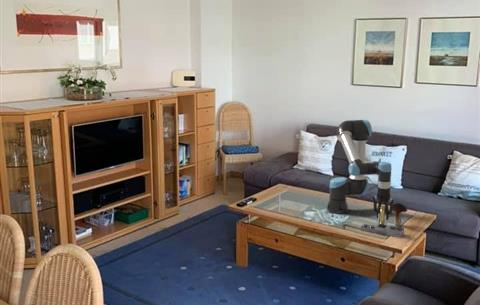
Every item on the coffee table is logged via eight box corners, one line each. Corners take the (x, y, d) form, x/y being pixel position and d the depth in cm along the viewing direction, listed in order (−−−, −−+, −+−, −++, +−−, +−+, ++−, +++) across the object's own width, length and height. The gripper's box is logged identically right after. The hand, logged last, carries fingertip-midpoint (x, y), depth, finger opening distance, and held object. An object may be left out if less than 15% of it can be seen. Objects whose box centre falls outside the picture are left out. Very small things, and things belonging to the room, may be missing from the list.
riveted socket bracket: (360, 230, 313) (360, 223, 312) (364, 226, 319) (364, 220, 318) (400, 237, 300) (401, 230, 299) (404, 234, 306) (404, 227, 305)
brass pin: (377, 229, 309) (378, 207, 306) (379, 227, 312) (380, 205, 309) (384, 231, 306) (385, 208, 303) (386, 229, 310) (387, 206, 307)
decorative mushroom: (386, 222, 326) (387, 201, 323) (402, 222, 327) (403, 200, 324) (392, 228, 315) (393, 206, 312) (409, 228, 316) (410, 205, 313)
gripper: (368, 187, 305) (367, 223, 310) (395, 190, 296) (393, 227, 301) (372, 184, 311) (371, 219, 316) (399, 187, 302) (397, 224, 307)
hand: (382, 223), depth 309 cm, fingers closed on brass pin, 3 cm apart
